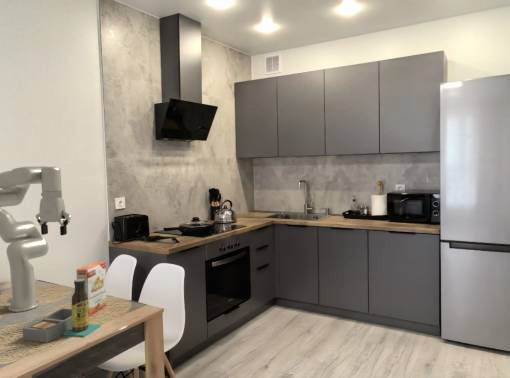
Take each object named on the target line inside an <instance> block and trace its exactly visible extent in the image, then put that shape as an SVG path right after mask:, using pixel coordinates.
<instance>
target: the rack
mask: <svg viewBox="0 0 510 378" xmlns="http://www.w3.org/2000/svg"><path fill="white" fill-rule="evenodd" d="M43 321H44V322H49V323H54V324H56V325H54V326H52V327H51V328H49V329H47V330H46V329H36V328H32V326H34V325H36V324H39V323H41V322H43ZM70 328H72V308H65V307H64V308H60V309H58V310H57V311H54V312H52V313H50V314H49V315H46V316H44V317H42V318H40V319H38V320H36V321H34V322H33V323H31V324H29V325H26V326H24V327H23V328H22V338H23V339H22V340H23V341H29V342H30V341H31V342H38V343H40V342H41V343H50V342H51V341H52V340H54V339H56V338H58V337H60V336H62V333H63V332H65V331H67V330H68V329H70Z"/></svg>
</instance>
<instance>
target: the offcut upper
mask: <svg viewBox="0 0 510 378" xmlns="http://www.w3.org/2000/svg"><path fill="white" fill-rule="evenodd" d="M54 325H56V324H54V323H49V322H44V321H43V322H41V323H39V324H36V325H34V326H32V328H36V329H46V330H47V329H49V328H51V327H52V326H54Z"/></svg>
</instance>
